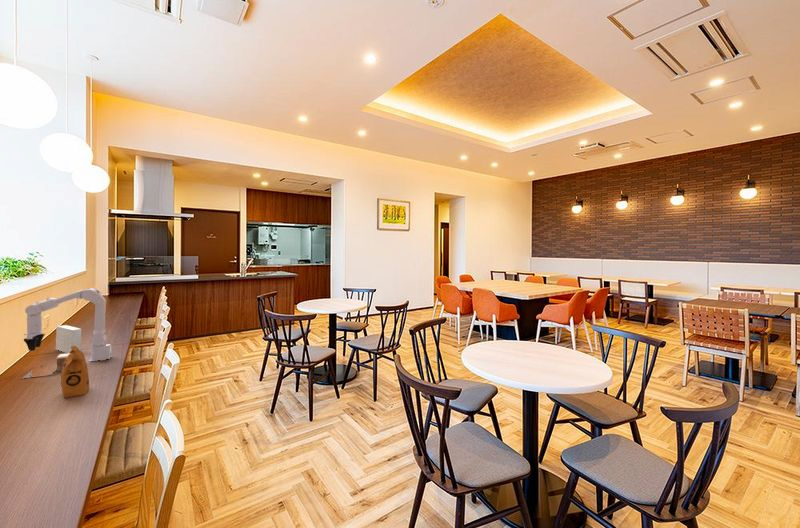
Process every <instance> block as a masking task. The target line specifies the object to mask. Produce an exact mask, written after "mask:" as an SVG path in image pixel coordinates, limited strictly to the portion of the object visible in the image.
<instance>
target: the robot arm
mask: <svg viewBox="0 0 800 528" xmlns="http://www.w3.org/2000/svg"><path fill="white" fill-rule="evenodd" d="M73 299H79V300H81V299H83V300H85V301H88V302H90V303H93V304H94V305H95V307H94V309H95V310H94V325H93V333H92V337H91V338H90V359H89V360H88V362H90V363H91V362H99V361H98V360H100V361H106V359H109V360H110V359H111V358H112V344H111V343H107V342H106V341H107V338H108V336H107V334H106V329H105V328H106V311H107V310H106V309H107V299H106V298H105V297H104V296H103V294H102V293H101V291H100V290H98V289H97V288H95V287H90V288H86V289H81V290H77V291H74V292H72V293H69V294H66V295H63V296H61V297H58V298H56V297H48V298H46V299H44V300H42V301H37V302H35V303H32V304H30V305H28V306H26V307H25V310H24V312H25V313H26V332H25V333H23V335H24V336H26V337H25V338H23V341H24V343H25V344H26V346H27V349H28V351H30V352H31V351H35V350H36V348H39V347H41V345H42V341H43V338H44V337H45V335H46V334H45V333H43V330H42V327H43V325H42V324H43V323H42V320H43V319H42V318H43V317H42V312H46V311H49V310H51V309H55V308H57V307H59V305H60V304H63V303H65V302H68V301H71V300H73ZM110 357H111V358H110Z"/></svg>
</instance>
